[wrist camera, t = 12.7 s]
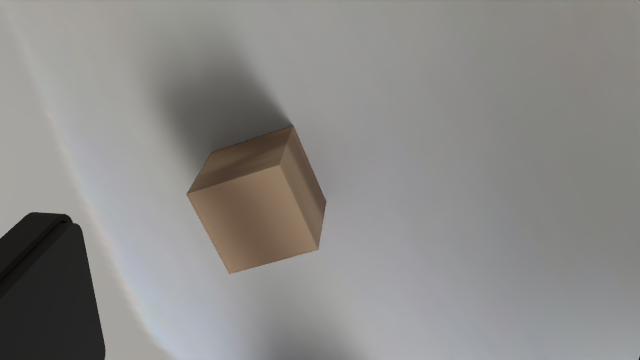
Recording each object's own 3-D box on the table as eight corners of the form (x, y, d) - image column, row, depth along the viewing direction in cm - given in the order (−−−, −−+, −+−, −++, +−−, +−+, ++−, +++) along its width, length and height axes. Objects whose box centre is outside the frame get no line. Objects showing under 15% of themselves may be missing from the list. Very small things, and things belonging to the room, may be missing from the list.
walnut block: (293, 124, 33) (279, 164, 28) (326, 201, 35) (318, 249, 30) (211, 151, 34) (186, 194, 30) (248, 224, 36) (229, 274, 32)
